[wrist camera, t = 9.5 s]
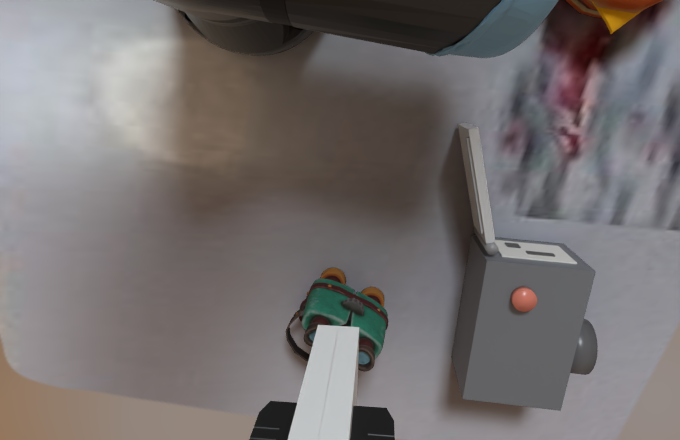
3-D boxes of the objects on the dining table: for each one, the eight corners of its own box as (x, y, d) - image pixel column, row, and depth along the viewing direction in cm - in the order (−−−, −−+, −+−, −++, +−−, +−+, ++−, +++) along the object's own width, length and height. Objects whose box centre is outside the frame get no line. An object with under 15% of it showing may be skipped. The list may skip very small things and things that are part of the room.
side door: (472, 234, 45) (486, 256, 40) (455, 124, 42) (466, 130, 37) (484, 232, 45) (499, 254, 39) (467, 121, 42) (480, 127, 37)
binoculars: (259, 388, 41) (303, 306, 38) (287, 322, 51) (324, 251, 47) (347, 430, 42) (400, 354, 38) (358, 356, 52) (401, 290, 48)
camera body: (471, 232, 46) (489, 261, 38) (593, 244, 45) (635, 275, 37) (451, 356, 50) (464, 404, 42) (562, 369, 49) (594, 420, 41)
